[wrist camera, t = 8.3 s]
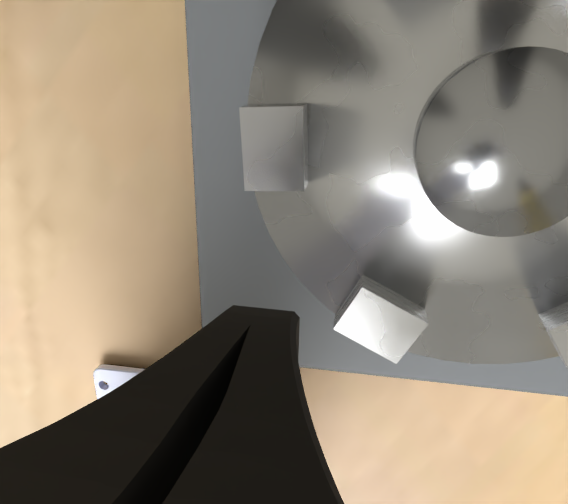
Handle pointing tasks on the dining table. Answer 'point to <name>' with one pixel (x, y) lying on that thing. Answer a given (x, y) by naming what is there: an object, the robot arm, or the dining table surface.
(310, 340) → the boss plate
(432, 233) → the grey turntable disc
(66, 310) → the dining table surface
